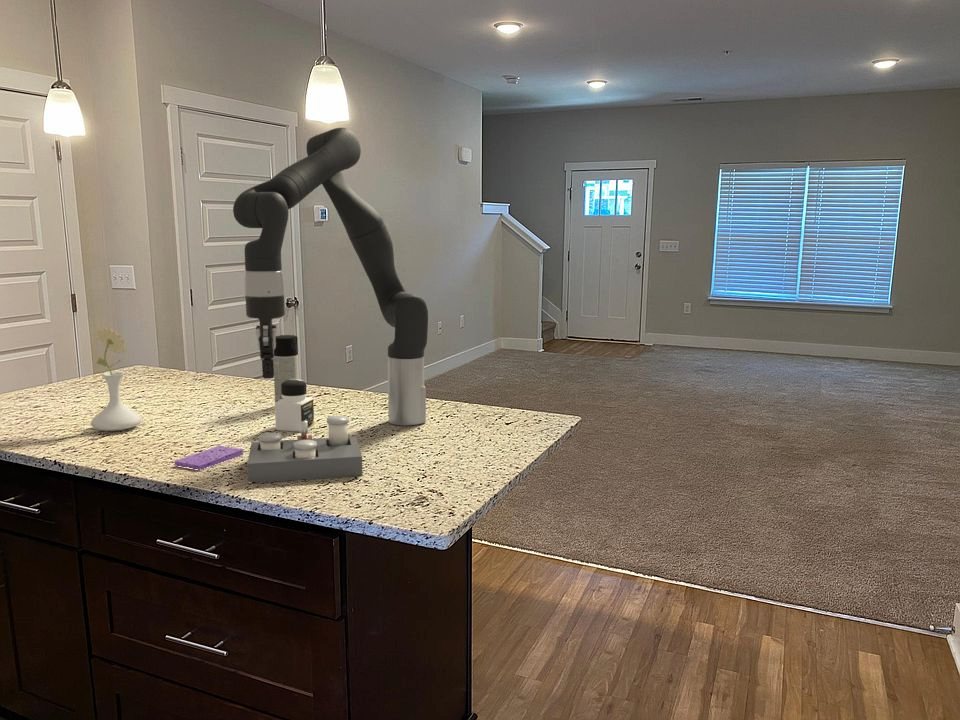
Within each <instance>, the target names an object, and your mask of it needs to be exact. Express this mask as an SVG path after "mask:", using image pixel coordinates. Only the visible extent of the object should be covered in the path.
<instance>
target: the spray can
mask: <svg viewBox="0 0 960 720" xmlns="http://www.w3.org/2000/svg"><path fill="white" fill-rule="evenodd" d="M298 345H299V343H298V336H297V335H293V334H292V335H291V334H281V335H276V348H275V349H274V350H275V353H274V355H275V357H274V360H273V362H274V377H273V381H274V382H273V384H274V403H275V402H277V401H279V400H281V399H283V398H282V393H281V384H282V382H284V381H286V380H293V379H297V380H300V374H299V373H300V372H299V348H298Z"/></svg>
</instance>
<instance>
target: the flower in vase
mask: <svg viewBox="0 0 960 720" xmlns="http://www.w3.org/2000/svg"><path fill="white" fill-rule="evenodd" d="M95 333H96V336H97V339H98V340H99V341H100V342H101V344H102V345H103V346H104V348H105V350H104V355H103V358H101V357H98V360H97V362H96V364H98V365H101V366H104V367H107V369H108V371H107V372H103V373H101V376H102V377H103V379H104V380H105V381H106V384H107V387H108V391H109V402H108V404H107V405H106V407H104V408H103V409H102V410H100V412H99V413H97V415H95V416H94V417H93V418H92V420H91V422H90V426H91V427H92V428H93V429H96V430H100V431H103V432H104V431H107V432H108V431H109V432H113V431H114V432H115V431H122V430H128V429H131V428H134V427H136V426H138V425H140V424H141V422H142V421H143V418H142V416H141V415H140V414H139V413H138V412H136V411H135V410H133V409H132V408H130V407H128V406H127V405H125V404H124V403H123V402H122V400H121V394H120V393H121V392H120V386H121V380H122V378H123V376H124V375H125V372H123V371H112V370H111V368H112V367H113V366H115V365H117V364H119V363H120V362H121V359H119V360H118V361H117V362H114V363H113V364H112V365H110V366H109V364H108V362H107V360H106V359H107V358H106V356H107V352H108V350H109V351H113V352H114V353H118V354H121V353H124V352H126V351H127V349H126V346H127V344H126V343H125V339H123V338H122V334H120V333H118V332H117V331H115V330H113V329H112V328H111V327H109V328H106V326H101V328H98V329H97V330H96V331H95Z"/></svg>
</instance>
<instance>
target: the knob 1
mask: <svg viewBox="0 0 960 720" xmlns="http://www.w3.org/2000/svg"><path fill="white" fill-rule="evenodd" d="M282 439H283V438H282V434H281V433H279V432H265V433H262V434H259V435H258V442H260V446H261V450H275V449H281V448H280V440H282Z"/></svg>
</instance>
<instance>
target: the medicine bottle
mask: <svg viewBox="0 0 960 720" xmlns="http://www.w3.org/2000/svg"><path fill="white" fill-rule="evenodd" d="M281 393H282V398H283V399H281V400H279V401H277V402H275V401H274V414H275V415H274V417H275V419H274V420H275V421H274V422H275V430H276V431H283V432H284V431H286V432H297V433H298V432H299V433H301V421H308V429H309V428H311V427H312V426H314V425H315V417H314V415H315V411H314V409H315V407H314V406H315V405H314V398H313V397H308V396H307V394H308V393H307V382H306V380H305V381H304V380H303V379H299V380H297V379H293V380H286V381H284V382H282V384H281Z"/></svg>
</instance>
